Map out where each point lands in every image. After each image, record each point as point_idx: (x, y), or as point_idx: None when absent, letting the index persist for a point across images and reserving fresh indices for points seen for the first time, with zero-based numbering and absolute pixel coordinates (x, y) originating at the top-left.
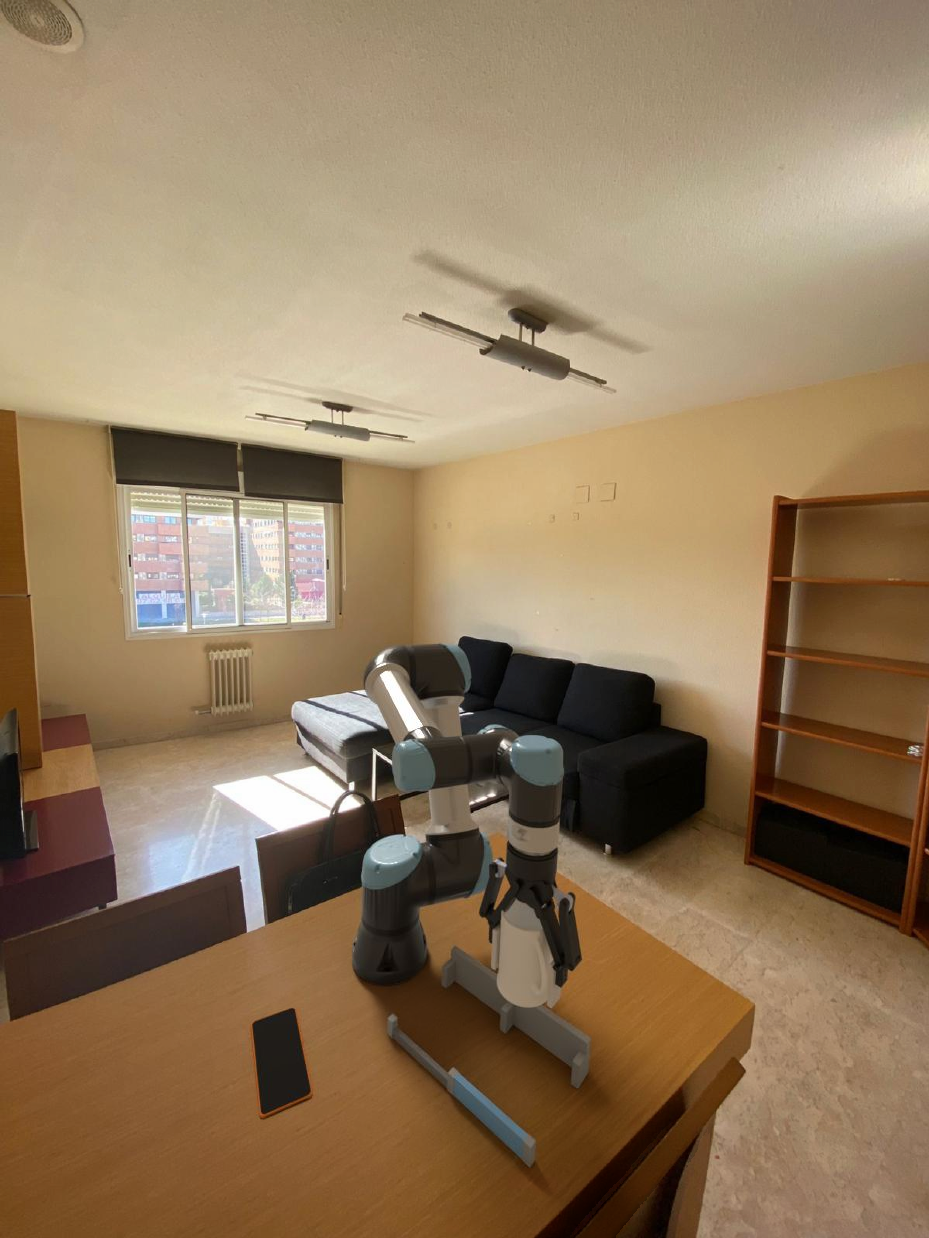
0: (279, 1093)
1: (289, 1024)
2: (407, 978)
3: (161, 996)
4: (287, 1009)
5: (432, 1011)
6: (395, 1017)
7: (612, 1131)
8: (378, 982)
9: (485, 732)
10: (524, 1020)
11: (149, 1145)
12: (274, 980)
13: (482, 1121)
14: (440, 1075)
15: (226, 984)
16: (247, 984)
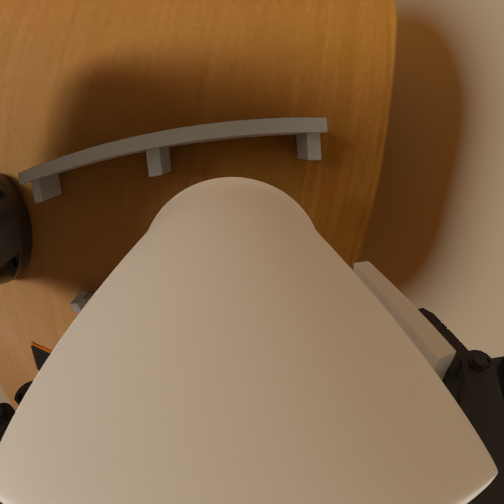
0: None
1: (45, 355)
2: (29, 234)
3: (10, 385)
4: (31, 348)
5: (80, 235)
6: (76, 304)
7: (366, 175)
8: (24, 268)
9: None
10: (187, 143)
11: None
12: (4, 335)
13: None
14: None
15: (4, 359)
16: (5, 350)
